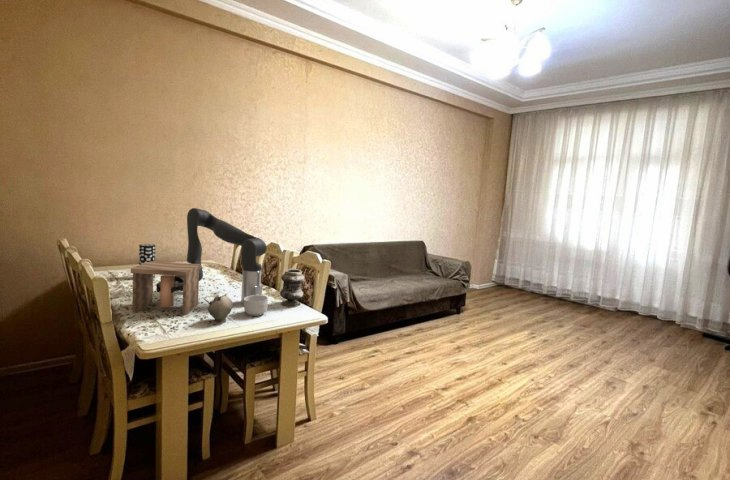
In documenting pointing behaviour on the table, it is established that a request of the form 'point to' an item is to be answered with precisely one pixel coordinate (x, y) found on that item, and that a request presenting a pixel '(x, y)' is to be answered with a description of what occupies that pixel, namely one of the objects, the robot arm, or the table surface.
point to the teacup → (255, 304)
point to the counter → (146, 271)
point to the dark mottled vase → (292, 287)
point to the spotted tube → (146, 254)
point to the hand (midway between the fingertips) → (164, 290)
